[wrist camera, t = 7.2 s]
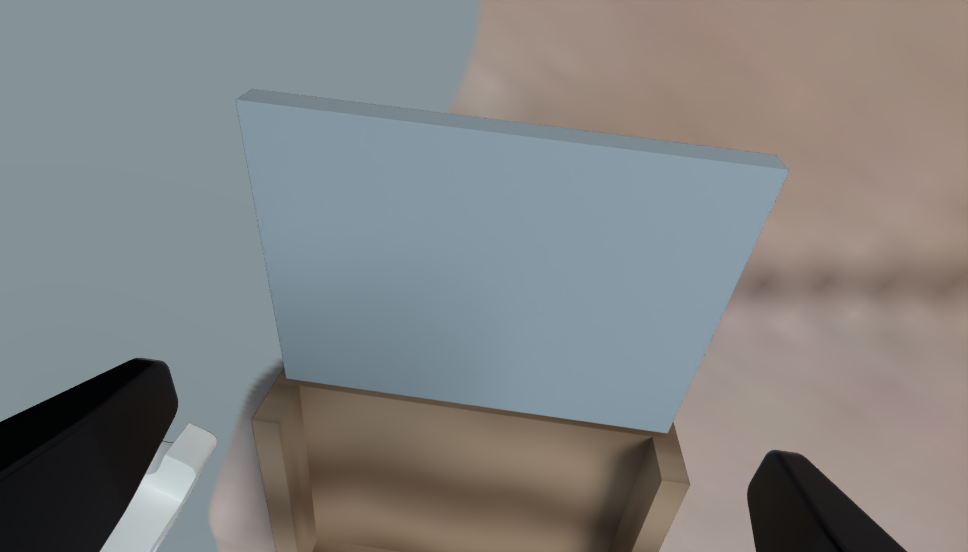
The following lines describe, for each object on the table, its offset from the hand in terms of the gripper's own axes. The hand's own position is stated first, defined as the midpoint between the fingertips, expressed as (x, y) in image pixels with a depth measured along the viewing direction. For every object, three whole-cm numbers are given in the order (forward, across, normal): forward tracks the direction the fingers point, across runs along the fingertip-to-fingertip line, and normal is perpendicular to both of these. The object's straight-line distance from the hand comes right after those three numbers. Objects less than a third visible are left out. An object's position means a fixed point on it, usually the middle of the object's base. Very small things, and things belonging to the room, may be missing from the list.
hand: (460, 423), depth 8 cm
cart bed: (+11, 0, +15) cm, 19 cm away
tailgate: (+9, 0, +9) cm, 13 cm away
